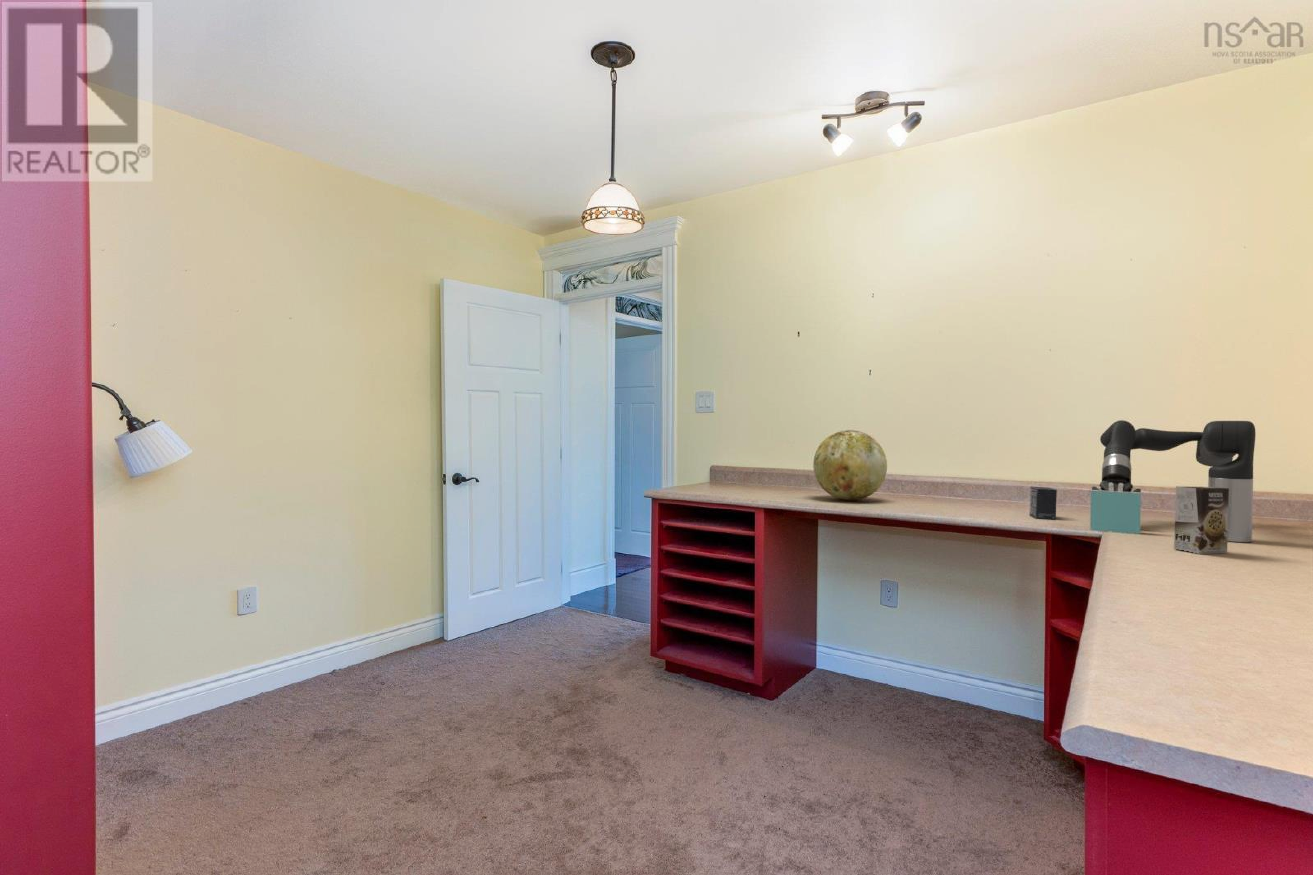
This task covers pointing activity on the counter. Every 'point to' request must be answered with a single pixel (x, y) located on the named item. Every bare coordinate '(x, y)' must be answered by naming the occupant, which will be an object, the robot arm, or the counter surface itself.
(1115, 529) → the tile
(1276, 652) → the counter surface
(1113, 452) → the robot arm
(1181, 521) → the coffee box
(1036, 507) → the small box
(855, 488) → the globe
